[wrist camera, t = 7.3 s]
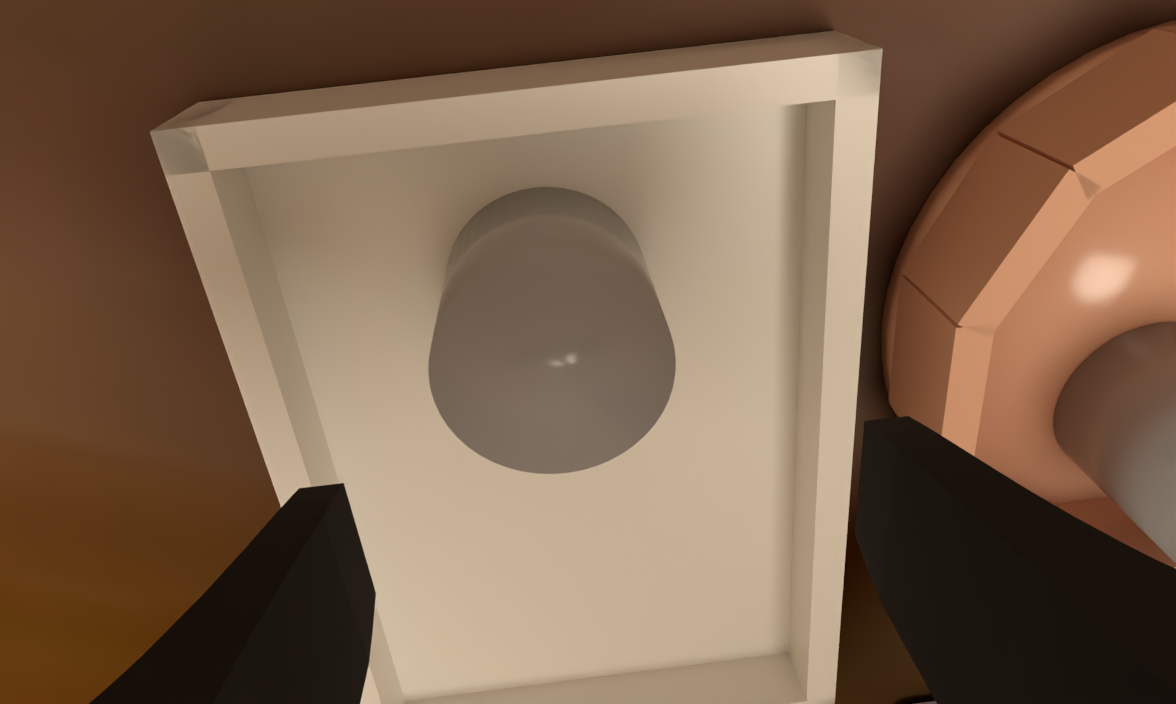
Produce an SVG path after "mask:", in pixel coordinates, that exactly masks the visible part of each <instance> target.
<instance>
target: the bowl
mask: <svg viewBox="0 0 1176 704" xmlns="http://www.w3.org/2000/svg"><path fill="white" fill-rule="evenodd" d="M1160 322H1176V20H1172V21H1168V22H1165V23H1162V24H1159V25H1155V26H1152V27H1149V28H1146V29H1143V30H1140V31H1136V32H1133V33H1130V34H1128V35H1125V36H1123V37H1121V38H1119V39H1116V40H1114V41H1112V42H1110V43H1108V44H1105V45H1103V46H1101V47H1099V48H1096V49H1094V50H1092V51H1090V52H1088V53H1086V54H1084V55H1083V56H1081V57H1079V58H1078V59H1076V60H1074V61H1072V62H1071V63H1069V64H1067V65H1066V66H1064V67H1062V68H1060V69H1059V70H1057V71H1055V72H1054V73H1052V74H1050V75H1049V76H1048V77H1046V78H1045V79H1044V80H1042V81H1041V82H1039V83H1038V84H1037V85H1035V86H1034V87H1033V88H1031V89H1030V90H1028V91H1027V92H1026V93H1024V94H1023V95H1022V96H1020V97H1019V98H1018V99H1016V100H1015V101H1014V102H1013V103H1012V104H1010V105H1009V106H1008V107H1007V108H1006V109H1005V110H1004V111H1003V112H1002V113H1000V114H999V115H998V116H997V117H996V118H995V119H994V120H993V121H992V122H990V123H989V124H988V125H987V126H986V127H985V128H984V129H983V130H982V131H981V132H980V133H979V134H978V135H977V136H976V137H975V139H974V140H973V141H972V142H971V143H970V144H969V145H968V146H967V147H966V148H965V150H964V151H963V152H962V153H961V154H960V155H959V156H958V157H957V158H956V160H955V161H954V162H953V163H952V165H951V166H950V167H949V169H948V170H947V171H946V173H945V174H944V176H943V177H942V178H941V180H940V181H939V182H938V184H937V185H936V186H935V188H934V189H933V191H932V192H931V193H930V195H929V197H928V198H927V200H926V202H925V204H924V205H923V207H922V209H921V210H920V212H919V214H918V216H917V217H916V219H915V221H914V223H913V224H912V226H911V228H910V230H909V232H908V235H907V237H906V239H905V242H904V244H903V246H902V248H901V251H900V253H899V255H898V258H897V260H896V263H895V266H894V270H893V273H892V276H891V280H890V283H889V286H888V290H887V293H886V299H885V305H884V312H883V318H882V324H881V360H882V367H883V374H884V381H885V385H886V388H887V392H888V395H889V402H890V406H891V407H892V409H893V411H894V412H895V414H896V416H897V417H904V416H909V417H911V418H913V419H915V420H916V421H918V422H920V423H922V424H923V425H925V426H927V427H928V428H930V429H932V430H933V431H935V432H936V433H938V434H940V435H941V436H943V437H944V438H946V439H948V440H949V441H951V442H952V443H954V444H956V445H957V446H959V447H960V448H962V449H964V450H965V451H967V452H968V453H970V454H971V455H973V456H975V457H976V458H978V459H979V460H981V461H983V462H984V463H986V464H987V465H989V466H991V467H992V468H994V469H995V470H997V471H999V472H1000V473H1002V474H1003V475H1005V476H1007V477H1008V478H1010V479H1012V480H1013V481H1015V482H1016V483H1018V484H1020V485H1021V486H1023V487H1025V488H1026V489H1028V490H1030V491H1031V492H1033V493H1035V494H1036V495H1038V496H1040V497H1041V498H1043V499H1045V500H1046V501H1048V502H1050V503H1052V504H1053V505H1055V506H1057V507H1059V508H1060V509H1062V510H1064V511H1066V512H1067V513H1069V514H1071V515H1073V516H1074V517H1076V518H1078V519H1080V520H1082V521H1083V522H1085V523H1087V524H1089V525H1091V526H1093V527H1095V528H1096V529H1098V530H1100V531H1102V532H1104V533H1106V534H1108V535H1109V536H1111V537H1113V538H1115V539H1117V540H1119V541H1120V542H1122V543H1124V544H1126V545H1128V546H1130V547H1132V548H1134V549H1136V550H1138V551H1140V552H1142V553H1144V554H1146V555H1148V556H1150V557H1152V558H1154V559H1156V560H1158V561H1160V562H1163V563H1165V564H1167V565H1169V566H1171V567H1173V568H1175V569H1176V563H1175V562H1174V561H1173V560H1172V559H1171V558H1170V557H1169V556H1168V555H1167V554H1166V553H1165V552H1164V551H1163V550H1162V549H1161V548H1160V547H1159V546H1158V545H1157V544H1156V543H1155V542H1154V541H1153V540H1152V539H1151V538H1150V537H1149V536H1148V535H1147V534H1146V533H1145V532H1144V531H1142V530H1141V529H1140V528H1139V527H1138V526H1137V525H1136V524H1135V523H1134V522H1133V521H1132V520H1131V519H1130V518H1129V517H1128V516H1127V515H1126V514H1125V513H1124V512H1123V511H1122V510H1121V509H1120V508H1119V507H1118V506H1117V505H1116V504H1115V503H1114V502H1113V501H1112V500H1111V499H1110V498H1109V497H1108V496H1107V495H1106V494H1105V493H1104V492H1103V491H1102V490H1101V489H1100V488H1099V487H1098V486H1097V485H1096V484H1095V483H1094V482H1093V481H1092V480H1091V479H1090V478H1089V477H1088V476H1087V475H1086V474H1085V473H1084V472H1083V471H1082V470H1081V469H1080V468H1079V467H1078V466H1077V465H1076V464H1075V463H1074V462H1073V461H1072V460H1071V459H1070V458H1069V457H1068V456H1067V455H1066V454H1065V453H1064V452H1063V451H1062V449H1061V448H1060V446H1059V444H1058V442H1057V440H1056V437H1055V433H1054V412H1055V407H1056V404H1057V401H1058V398H1059V396H1060V394H1061V392H1062V389H1063V388H1064V386H1065V384H1066V383H1067V381H1068V379H1069V378H1070V377H1071V375H1072V374H1073V373H1074V371H1075V370H1076V369H1077V368H1078V367H1079V366H1080V365H1081V364H1082V362H1083V361H1084V360H1085V359H1087V358H1088V357H1089V356H1090V355H1091V354H1092V353H1093V352H1095V351H1096V350H1097V349H1099V348H1100V347H1101V346H1103V345H1104V344H1106V343H1107V342H1109V341H1110V340H1112V339H1114V338H1115V337H1117V336H1119V335H1121V334H1123V333H1125V332H1128V331H1130V330H1133V329H1136V328H1138V327H1142V326H1145V325H1149V324H1154V323H1160Z"/></svg>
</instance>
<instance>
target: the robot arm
mask: <svg viewBox="0 0 1176 704" xmlns="http://www.w3.org/2000/svg"><path fill="white" fill-rule="evenodd" d="M855 537H856V540H857V542H858V545H859V548H860V550H861V553H862V556H863V558H864V561H865V564H866V566H867V569H868V572H869V574H870V576H871V579H872V581H873V584H874V586H875V589H876V591H877V594H878V596H879V599H880V601H881V602H882V604H883V606H884V608H885V610H886V612H887V614H888V616H889V617H890V619H891V621H892V623H893V625H894V627H895V629H896V630H897V632H898V634H899V636H900V638H901V640H902V641H903V643H904V645H905V647H906V649H907V651H908V652H909V654H910V656H911V658H912V660H913V661H914V663H915V665H916V667H917V669H918V670H919V672H920V674H921V676H922V678H923V679H924V681H925V683H926V685H927V686H928V688H929V690H930V692H931V694H932V696H933V697H934V699H935V701H930V702H922V703H914V704H1176V569H1175V568H1173V567H1171V566H1169V565H1167V564H1165V563H1163V562H1160V561H1158V560H1156V559H1154V558H1152V557H1150V556H1148V555H1146V554H1144V553H1142V552H1140V551H1138V550H1136V549H1134V548H1132V547H1130V546H1128V545H1126V544H1124V543H1122V542H1120V541H1119V540H1117V539H1115V538H1113V537H1111V536H1109V535H1108V534H1106V533H1104V532H1102V531H1100V530H1098V529H1096V528H1095V527H1093V526H1091V525H1089V524H1087V523H1085V522H1083V521H1082V520H1080V519H1078V518H1076V517H1074V516H1073V515H1071V514H1069V513H1067V512H1066V511H1064V510H1062V509H1060V508H1059V507H1057V506H1055V505H1053V504H1052V503H1050V502H1048V501H1046V500H1045V499H1043V498H1041V497H1040V496H1038V495H1036V494H1035V493H1033V492H1031V491H1030V490H1028V489H1026V488H1025V487H1023V486H1021V485H1020V484H1018V483H1016V482H1015V481H1013V480H1012V479H1010V478H1008V477H1007V476H1005V475H1003V474H1002V473H1000V472H999V471H997V470H995V469H994V468H992V467H991V466H989V465H987V464H986V463H984V462H983V461H981V460H979V459H978V458H976V457H975V456H973V455H971V454H970V453H968V452H967V451H965V450H964V449H962V448H960V447H959V446H957V445H956V444H954V443H952V442H951V441H949V440H948V439H946V438H944V437H943V436H941V435H940V434H938V433H936V432H935V431H933V430H932V429H930V428H928V427H927V426H925V425H923V424H922V423H920V422H918V421H916V420H915V419H913V418H911V417H909V416H904V417H895V418H887V419H879V420H870V421H865V423H864V435H863V446H862V458H861V469H860V480H859V492H858V503H857V514H856V526H855ZM375 599H376V592H375V588H374V585H373V581H372V578H371V575H370V571H369V568H368V564H367V561H366V558H365V554H364V551H363V547H362V544H361V540H360V537H359V534H358V530H357V527H356V523H355V520H354V517H353V513H352V510H351V506H350V503H349V499H348V496H347V493H346V489H345V486H344V483H340V484H331V485H323V486H314V487H306V488H299V489H298V490H297V491H296V492H295V493H294V494H293V495H292V496H291V497H290V499H289V500H288V501H287V502H286V503H285V504H284V505H283V506H282V507H281V509H280V510H279V511H278V512H277V513H276V514H275V515H274V516H273V518H272V519H271V520H270V521H269V522H268V523H267V524H266V526H265V527H264V528H263V529H262V530H261V531H260V532H259V533H258V535H257V536H256V537H255V538H254V539H253V540H252V541H251V543H250V544H249V545H248V546H247V547H246V548H245V549H244V550H243V552H242V553H241V554H240V555H239V556H238V557H237V558H236V559H235V560H234V561H233V562H232V564H231V565H230V566H229V567H228V568H227V569H226V570H225V571H224V572H223V573H222V575H221V576H220V577H219V578H218V579H217V580H216V581H215V582H214V583H213V584H212V586H211V587H210V588H209V589H208V590H207V591H206V592H205V593H204V594H203V595H202V596H201V597H200V598H199V599H198V600H197V601H196V602H195V603H194V604H193V605H192V606H191V607H190V608H189V609H188V610H187V611H186V612H185V613H184V614H183V615H182V616H181V617H180V618H179V619H178V620H177V621H176V622H175V623H174V624H173V625H172V627H171V628H170V629H169V630H168V631H167V632H166V633H165V634H164V635H163V636H162V637H161V638H160V639H159V640H158V641H157V642H156V643H155V644H154V645H153V646H152V647H151V648H150V649H149V650H148V651H147V652H146V653H145V654H144V655H143V656H142V657H140V658H139V659H138V660H137V661H136V662H135V663H134V664H133V665H132V666H131V667H130V668H129V669H128V670H127V671H126V672H124V673H123V674H122V675H121V676H120V677H119V678H118V679H117V680H116V681H114V682H113V683H112V684H111V685H110V686H109V687H108V688H107V689H106V690H104V691H103V692H102V693H101V694H100V695H99V696H98V697H96V698H95V699H94V700H93V701H92V702H91V703H89V704H360V702H361V697H362V693H363V688H364V684H365V679H366V675H367V670H368V666H369V659H370V650H371V641H372V632H373V622H374V610H375Z"/></svg>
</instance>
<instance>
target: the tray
mask: <svg viewBox="0 0 1176 704" xmlns="http://www.w3.org/2000/svg"><path fill="white" fill-rule="evenodd" d="M881 62H882V48H879V47H876V46H874V45H871V44H869V43H866V42H864V41H861V40H858V39H856V38H853V37H851V36H848V35H845V34H843V33H840V32H838V31H826V32H818V33H809V34H800V35H791V36H782V37H773V38H764V39H755V40H746V41H738V42H729V43H720V44H711V45H702V46H693V47H684V48H675V49H666V50H658V51H649V52H640V53H631V54H622V55H613V56H604V57H595V58H586V59H578V60H569V61H560V62H551V63H542V64H533V65H524V66H515V67H506V68H498V69H489V70H480V71H471V72H462V73H453V74H444V75H435V76H426V77H418V78H409V79H400V80H391V81H382V82H373V83H364V84H355V85H346V86H338V87H329V88H320V89H311V90H302V91H293V92H284V93H275V94H266V95H258V96H249V97H240V98H231V99H222V100H213V101H204V102H198V103H196V104H195V105H193V106H191V107H190V108H188V109H186V110H185V111H183V112H181V113H180V114H178V115H176V116H175V117H173V118H171V119H170V120H168V121H166V122H165V123H163V124H161V125H160V126H158V127H156V128H155V129H153V130H151V131H150V134H151V137H152V140H153V143H154V146H155V149H156V152H157V154H158V157H159V160H160V163H161V166H162V169H163V172H164V174H165V177H166V180H167V183H168V186H169V189H170V192H171V194H172V197H173V200H174V203H175V206H176V209H177V212H178V214H179V217H180V220H181V223H182V226H183V229H184V232H185V234H186V237H187V240H188V243H189V246H190V249H191V252H192V254H193V257H194V260H195V263H196V266H197V269H198V272H199V274H200V277H201V280H202V283H203V286H204V289H205V292H206V294H207V297H208V300H209V303H210V306H211V309H212V311H213V314H214V317H215V320H216V323H217V326H218V329H219V331H220V334H221V337H222V340H223V343H224V346H225V349H226V351H227V354H228V357H229V360H230V363H231V366H232V369H233V371H234V374H235V377H236V380H237V383H238V386H239V389H240V391H241V394H242V397H243V400H244V403H245V406H246V409H247V411H248V414H249V417H250V420H251V423H252V426H253V429H254V431H255V434H256V437H257V440H258V443H259V446H260V449H261V451H262V454H263V457H264V460H265V463H266V466H267V469H268V471H269V474H270V477H271V480H272V483H273V486H274V489H275V491H276V494H277V497H278V500H279V503H280V506H281V507H282V506H283V505H284V504H285V503H286V502H287V501H288V500H289V499H290V497H291V496H292V495H293V494H294V493H295V492H296V491H297V490H298V489H299V488H306V487H314V486H323V485H331V484H340V483H344V486H345V489H346V493H347V496H348V499H349V503H350V506H351V510H352V513H353V517H354V520H355V523H356V527H357V530H358V534H359V537H360V540H361V544H362V547H363V551H364V554H365V558H366V561H367V564H368V568H369V571H370V575H371V578H372V581H373V585H374V588H375V592H376V599H375V610H374V622H373V632H372V641H371V650H370V659H369V666H368V670H367V675H366V679H365V684H364V688H363V693H362V697H361V702H360V704H835V691H836V677H837V664H838V650H839V636H840V623H841V609H842V595H843V582H844V568H845V554H846V541H847V527H848V513H849V499H850V486H851V472H852V458H853V445H854V431H855V417H856V404H857V390H858V376H859V363H860V349H861V335H862V322H863V308H864V294H865V281H866V267H867V253H868V240H869V226H870V212H871V199H872V185H873V171H874V158H875V144H876V130H877V117H878V103H879V89H880V76H881ZM534 187H557V188H565V189H570V190H574V191H578V192H581V193H583V194H586V195H589V196H591V197H593V198H595V199H597V200H599V201H601V202H602V203H603V204H605V205H606V206H608V207H609V208H611V209H612V210H613V211H614V212H615V213H616V214H618V215H619V216H620V217H621V218H622V220H623V221H624V222H625V223H626V224H627V225H628V227H629V228H630V230H631V231H632V233H633V234H634V236H635V238H636V240H637V242H638V244H639V247H640V249H641V252H642V254H643V257H644V260H645V263H646V266H647V268H648V271H649V274H650V277H651V280H652V282H653V285H654V288H655V291H656V293H657V296H658V299H659V302H660V305H661V307H662V310H663V313H664V316H665V319H666V321H667V324H668V327H669V330H670V333H671V336H672V340H673V343H674V349H675V357H676V372H675V379H674V385H673V389H672V392H671V395H670V398H669V401H668V403H667V405H666V407H665V409H664V411H663V413H662V414H661V416H660V417H659V419H658V420H657V422H656V423H655V425H654V426H653V427H652V428H651V429H650V431H649V432H648V433H647V434H646V435H645V436H644V437H643V438H642V439H641V440H640V441H639V442H637V443H636V444H635V445H634V446H633V447H631V448H630V449H628V450H627V451H625V452H624V453H623V454H621V455H619V456H617V457H615V458H613V459H612V460H610V461H607V462H605V463H603V464H600V465H598V466H595V467H592V468H588V469H585V470H581V471H575V472H570V473H560V474H537V473H530V472H523V471H518V470H515V469H511V468H507V467H504V466H502V465H499V464H497V463H494V462H492V461H490V460H488V459H486V458H484V457H482V456H480V455H479V454H477V453H476V452H474V451H473V450H472V449H470V448H469V447H467V446H466V445H465V444H464V443H463V442H462V441H461V440H460V439H458V438H457V437H456V435H455V434H454V433H453V432H452V431H451V430H450V428H449V427H448V426H447V424H446V423H445V421H444V420H443V418H442V417H441V415H440V413H439V411H438V409H437V407H436V405H435V402H434V399H433V396H432V393H431V389H430V383H429V376H428V365H429V355H430V349H431V343H432V338H433V333H434V328H435V323H436V318H437V313H438V308H439V303H440V298H441V293H442V288H443V283H444V278H445V273H446V268H447V263H448V259H449V256H450V252H451V249H452V247H453V245H454V243H455V240H456V238H457V236H458V235H459V233H460V232H461V230H462V229H463V227H464V226H465V225H466V224H467V222H468V221H469V220H470V219H471V218H472V217H473V216H474V215H475V214H476V213H477V212H479V211H480V210H481V209H482V208H483V207H485V206H486V205H488V204H489V203H491V202H493V201H494V200H496V199H498V198H500V197H502V196H504V195H507V194H509V193H512V192H516V191H519V190H523V189H529V188H534Z"/></svg>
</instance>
